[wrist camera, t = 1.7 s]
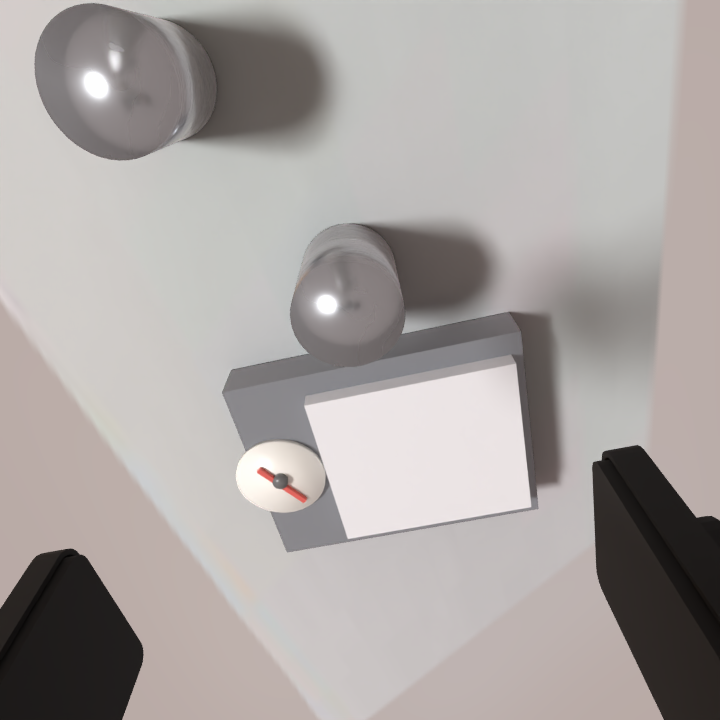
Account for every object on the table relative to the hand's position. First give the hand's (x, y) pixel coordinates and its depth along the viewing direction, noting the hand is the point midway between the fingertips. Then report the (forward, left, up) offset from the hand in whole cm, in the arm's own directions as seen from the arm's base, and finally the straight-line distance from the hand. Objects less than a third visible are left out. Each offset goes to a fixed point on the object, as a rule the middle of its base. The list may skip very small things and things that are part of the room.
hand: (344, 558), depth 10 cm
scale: (+8, 0, -15) cm, 17 cm away
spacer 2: (0, 0, -15) cm, 15 cm away
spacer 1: (-9, -5, -15) cm, 18 cm away
